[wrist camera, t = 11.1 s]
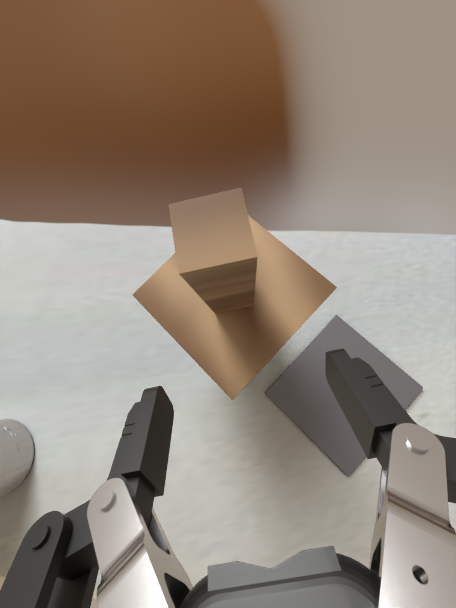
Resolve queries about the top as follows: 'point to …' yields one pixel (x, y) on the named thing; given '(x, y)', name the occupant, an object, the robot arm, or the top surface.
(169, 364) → the top surface
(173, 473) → the top surface
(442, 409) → the top surface
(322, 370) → the mat
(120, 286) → the top surface
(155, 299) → the lid
